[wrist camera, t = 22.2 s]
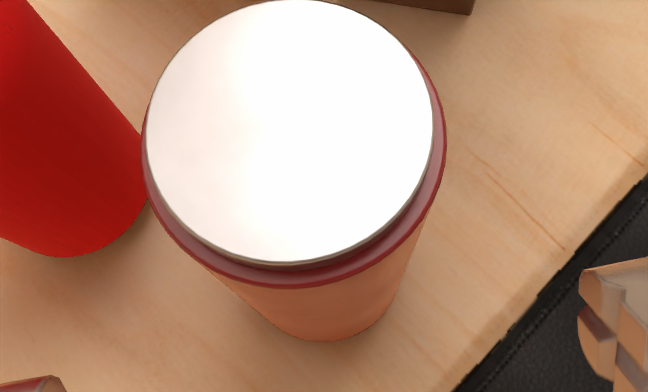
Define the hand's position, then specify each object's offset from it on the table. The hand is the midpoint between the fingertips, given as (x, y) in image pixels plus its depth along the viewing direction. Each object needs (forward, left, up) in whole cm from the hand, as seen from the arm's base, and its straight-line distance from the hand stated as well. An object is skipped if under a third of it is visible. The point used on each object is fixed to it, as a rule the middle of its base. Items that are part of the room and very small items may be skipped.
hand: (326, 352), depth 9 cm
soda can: (-2, +4, -13) cm, 14 cm away
